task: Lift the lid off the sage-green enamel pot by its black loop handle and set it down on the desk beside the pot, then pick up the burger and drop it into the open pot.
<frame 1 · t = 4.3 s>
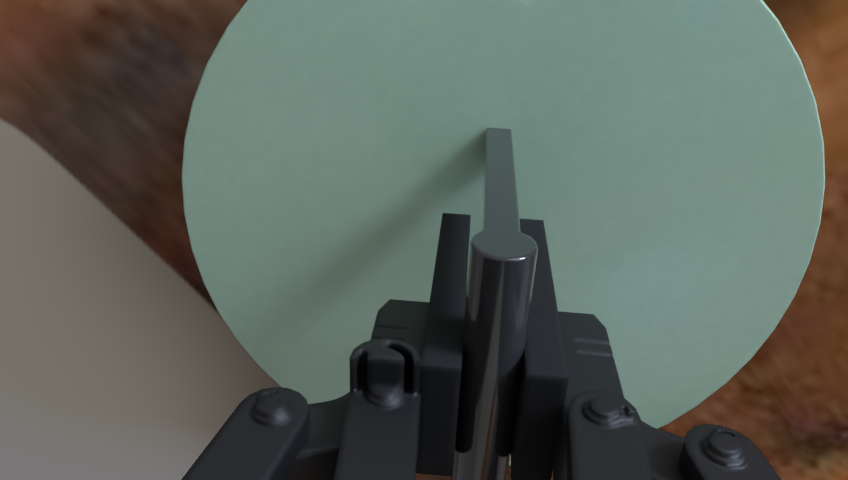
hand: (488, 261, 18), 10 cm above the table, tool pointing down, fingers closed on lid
lid: (488, 228, 20), point 8 cm above the table, touching gripper, pot
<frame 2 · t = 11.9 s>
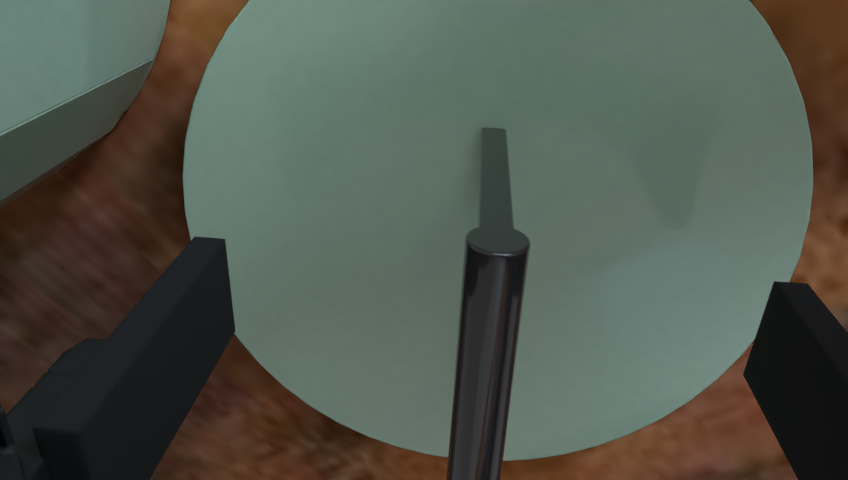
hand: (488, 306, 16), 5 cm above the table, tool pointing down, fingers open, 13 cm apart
lid: (484, 226, 21), point 1 cm above the table
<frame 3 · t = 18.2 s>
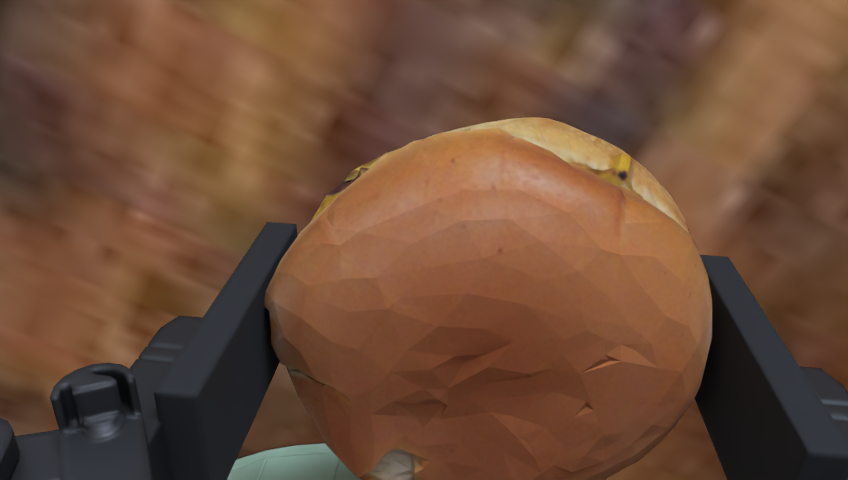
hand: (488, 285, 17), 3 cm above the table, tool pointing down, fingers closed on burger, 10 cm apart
burger: (489, 276, 18), point 3 cm above the table, touching gripper
when the fingers open (5 cm above the table, at t = 24.2 s): burger drops 4 cm, resting on pot.
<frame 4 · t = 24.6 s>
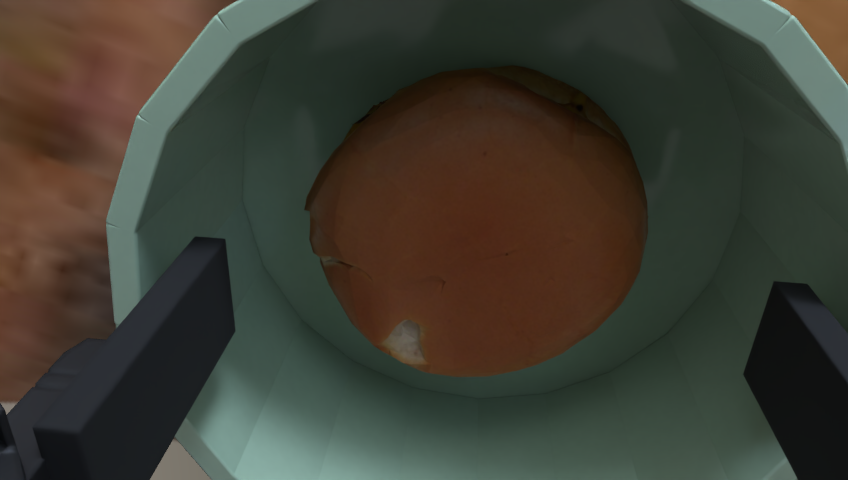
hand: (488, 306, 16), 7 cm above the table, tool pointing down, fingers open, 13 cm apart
burger: (479, 199, 22), resting on pot
pot: (484, 198, 22), on the table
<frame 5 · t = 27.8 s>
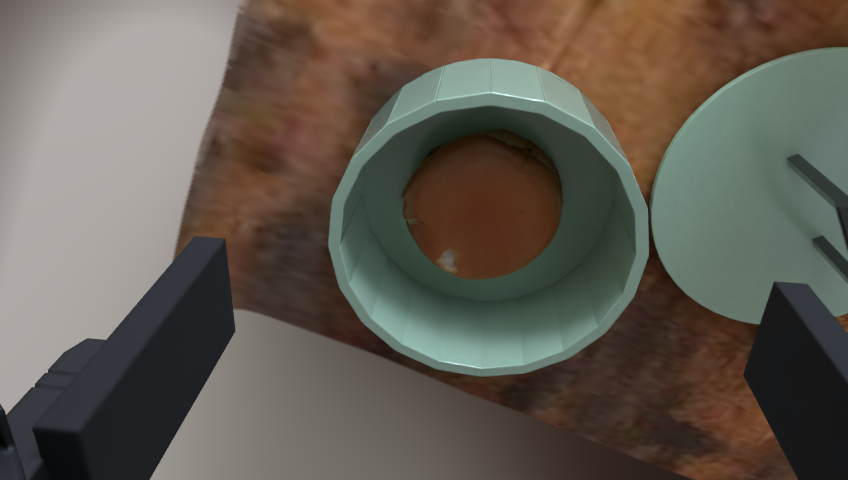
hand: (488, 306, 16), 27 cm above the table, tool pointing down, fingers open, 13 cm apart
burger: (483, 193, 44), resting on pot
lid: (802, 197, 42), point 1 cm above the table
pot: (485, 192, 44), on the table
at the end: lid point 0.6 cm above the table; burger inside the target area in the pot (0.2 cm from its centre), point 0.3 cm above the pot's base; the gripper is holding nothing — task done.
